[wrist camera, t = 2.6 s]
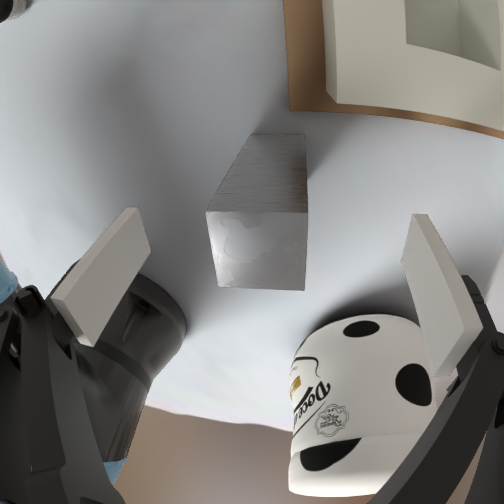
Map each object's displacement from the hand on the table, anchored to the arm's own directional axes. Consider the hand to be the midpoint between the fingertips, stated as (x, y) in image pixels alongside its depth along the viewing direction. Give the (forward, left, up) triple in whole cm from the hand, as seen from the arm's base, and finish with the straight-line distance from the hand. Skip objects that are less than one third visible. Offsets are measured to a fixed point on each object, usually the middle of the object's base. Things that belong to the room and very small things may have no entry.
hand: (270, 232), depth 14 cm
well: (+10, +12, -9) cm, 18 cm away
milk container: (+10, -23, -11) cm, 27 cm away
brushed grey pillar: (0, 0, -11) cm, 10 cm away
